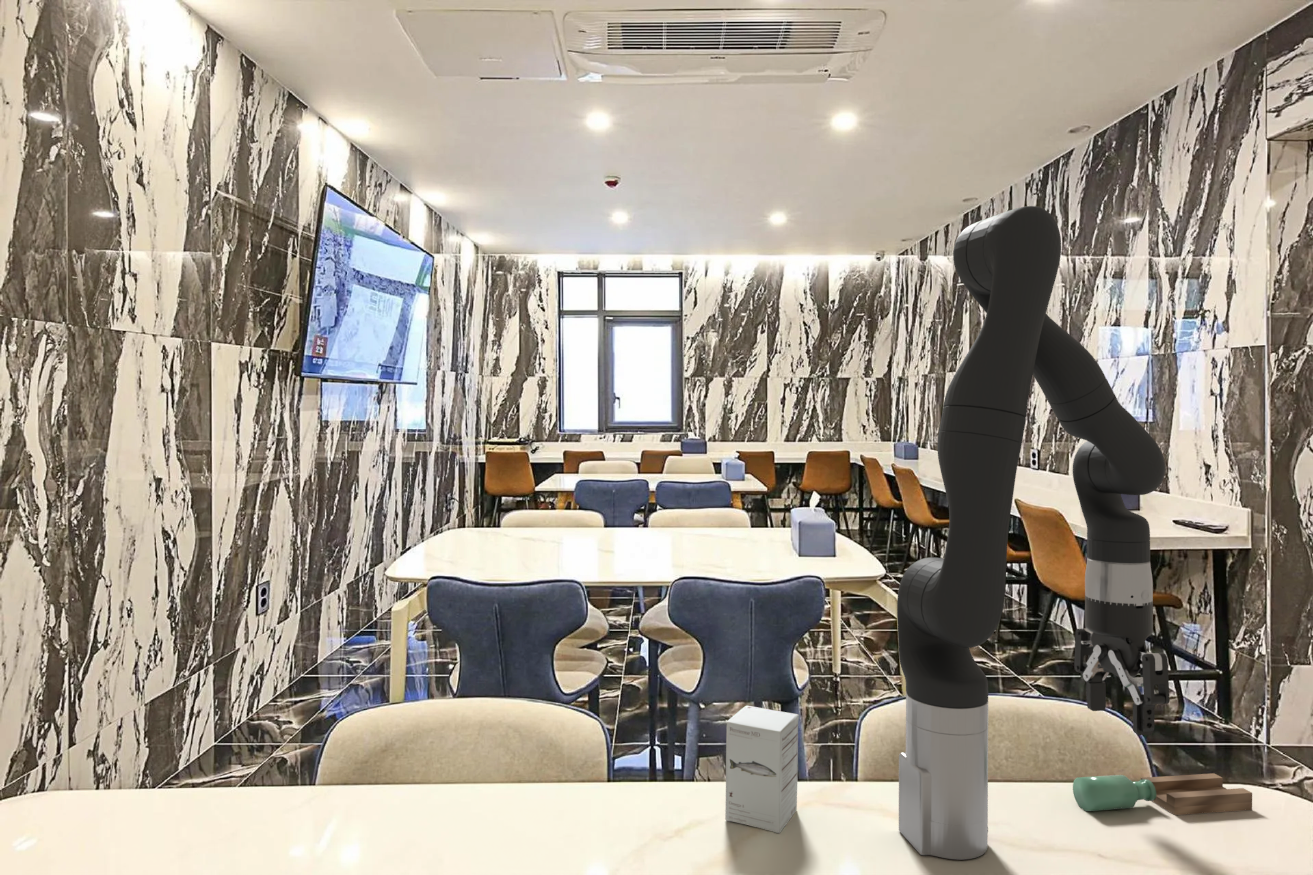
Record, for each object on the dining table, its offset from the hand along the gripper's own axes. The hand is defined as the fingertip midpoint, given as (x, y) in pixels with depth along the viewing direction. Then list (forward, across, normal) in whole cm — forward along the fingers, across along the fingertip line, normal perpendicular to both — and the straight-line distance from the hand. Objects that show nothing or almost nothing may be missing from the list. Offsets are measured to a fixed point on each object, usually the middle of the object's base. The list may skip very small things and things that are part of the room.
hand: (1119, 721), depth 104 cm
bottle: (+10, -1, 0) cm, 10 cm away
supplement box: (+11, -5, -46) cm, 47 cm away
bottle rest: (+12, -1, +12) cm, 17 cm away
